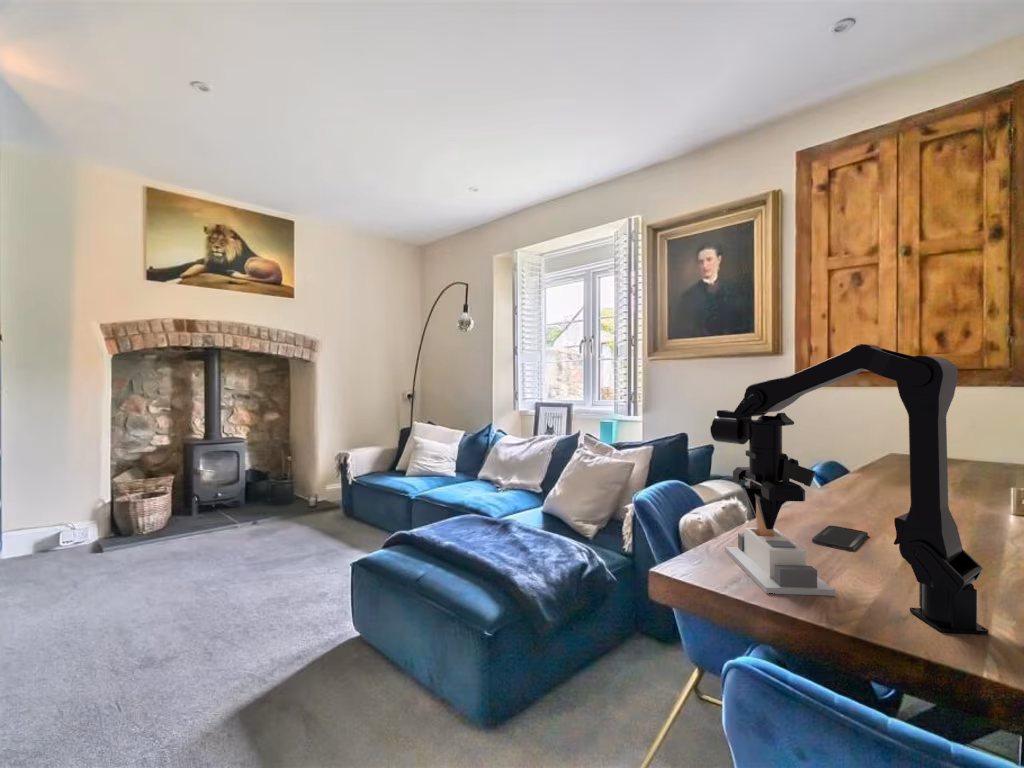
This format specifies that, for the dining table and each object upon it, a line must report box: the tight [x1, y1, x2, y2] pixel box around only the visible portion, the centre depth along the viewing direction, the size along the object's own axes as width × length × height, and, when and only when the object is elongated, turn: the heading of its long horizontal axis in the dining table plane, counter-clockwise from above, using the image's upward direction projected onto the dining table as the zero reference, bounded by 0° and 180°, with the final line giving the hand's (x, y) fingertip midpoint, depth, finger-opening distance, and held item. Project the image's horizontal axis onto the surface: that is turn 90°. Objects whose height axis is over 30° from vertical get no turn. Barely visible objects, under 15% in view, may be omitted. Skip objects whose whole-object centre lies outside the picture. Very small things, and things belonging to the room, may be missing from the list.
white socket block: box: [743, 527, 807, 578], centre depth 91 cm, size 13×6×5 cm, turn 172°
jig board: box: [724, 532, 835, 597], centre depth 91 cm, size 20×11×4 cm, turn 175°
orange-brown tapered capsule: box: [755, 501, 775, 536], centre depth 94 cm, size 3×3×9 cm
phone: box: [811, 525, 869, 552], centre depth 109 cm, size 8×1×15 cm
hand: (765, 526), depth 94 cm, fingers closed on orange-brown tapered capsule, 3 cm apart
